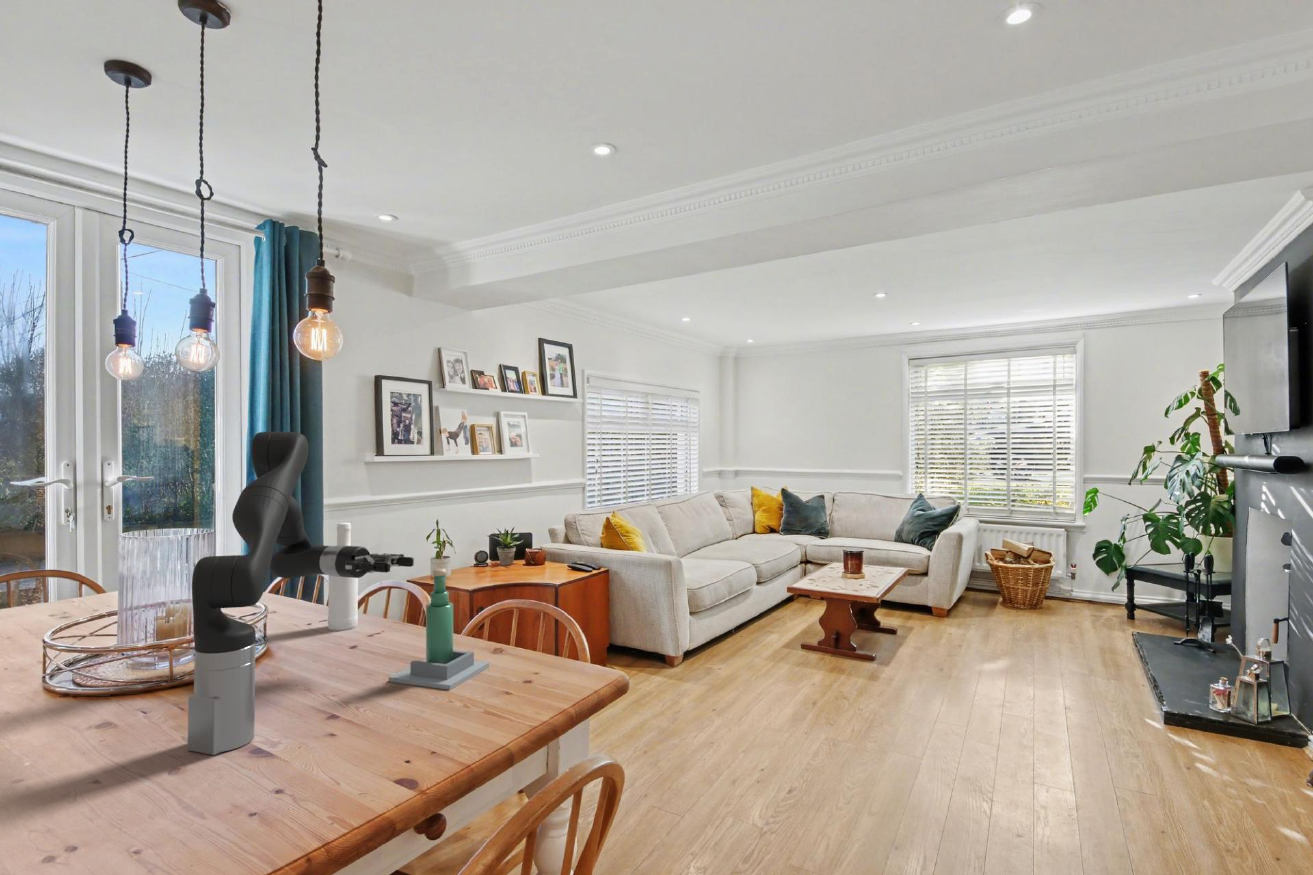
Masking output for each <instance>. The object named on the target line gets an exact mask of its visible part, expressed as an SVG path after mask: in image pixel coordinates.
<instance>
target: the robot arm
mask: <svg viewBox="0 0 1313 875" xmlns="http://www.w3.org/2000/svg"><path fill="white" fill-rule="evenodd" d="M251 441H252V442H251V445H250V457H251V463H252V467H253V471H254V473H255V477H256V478H255V479H254V480H252V481H251V482H250V483H249V484H248V485H246V486H245V487H244V488H243V489H242V491H241V493H240V495H239V497H238V499H237V501H236V504H235V505H234V508H233V511H232V514H231V515H232V517H231V518H232V523H233V527H234V528H235V530H236V532H237V533H238V534H239V536H240V537H241V539H242V540H243V541H244V542H245V544H246V545H247V547H248V549H249V552H248V553H245V554H241V555H240V554H237V555H236V554H235V555H213V556H212V555H210V556H205V557H202V558H200V559H199V560H198V561H197V562H196V564H195V566H194V568H193V571H192V578H191V600H192V614H193V616H192V618H193V619H192V620H193V622H192V624H193V629H192V630H193V640H194V661H193V662H194V666H193V668H194V669H193V670H194V671H193V673H194V676H193V693H192V694H190V695H189V696H188V698H187V700H188V703H187V704H188V706H187V708H188V710H187V751H191V752H196V753H202V754H207V755H212V756H215V755H217V754H219V753H223V752H228V751H231V750H235V749H238V748H241V747H243V746H246V745H247V744H249V743H251V741H253V740H254V738H255V718H256V717H255V715H256V714H255V711H256V710H255V707H256V706H255V704H256V703H255V702H256V701H255V699H256V639H257V638H256V635H257V634H256V628H255V627H254V626H253V625H252V624H250V623H247V622H242V621H241V620H237V619H235V618H232V617H230V616H228V615H227V614H225V613H224V612H223V611H222V609H232V608H233V609H234V608H247V607H251V606H255V605H256V604H258V602H259V601H260V600H261V598H262V596H263V595H264V592H265V589H266V584H267V581H268V578H269V577H268V576H269V573H270V572H271V573H272V574H273V575H274V576H276V577H278V578H280V579H296V578H303V577H306V576H307V577H308V576H311V575H323V576H324V575H325V576H329V575H331V576H336V577H350V578H358V579H359V578H362V577H364V576H365V575H366V574H372V573H373V574H374V573H390V572H391V568H392V567H398V568H399V567H407V568H409V567H413V566H414V565H415V562H414V560H415V559H414V557H412V556H405V555H404V554H402V553H401V554H395V553H381V554H380V553H370V551H369V549H367V548H366V547H365V546H360V545H359V546H357V545H351V546H337V545H313V544H312V542H311V541H310V539H309V537H308V535H307V534H308V533H306V531H305V526H304V517H303V513H302V512H303V511H302V509H301V506H300V504H299V503H298V501H297V500H296V498H294V497H293V492H294V490H295V487H296V485H297V483H298V480H299V479H300V477H301V475H302V473H303V470H304V468H305V467H306V464H307V460H308V458H309V457H308V456H309V450H310V449H309V443H308V439H307V437H306V436H305V435H304V434H302V433H299V432H294V431H261V432H258V433H256V434H255V435H254V436H253V438H252V440H251ZM276 544H277V545H279V546H282V547H281V548H280V549H278V550H276V552H274V549H275V548H276V547H275V546H276Z"/></svg>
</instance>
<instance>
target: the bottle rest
mask: <svg viewBox="0 0 1313 875" xmlns="http://www.w3.org/2000/svg"><path fill="white" fill-rule="evenodd" d="M489 667H490V662H485V661H478V660H475V652H474V651H466V650H457V649H453V661H451V662H449V663H447V664H440V663H432V662H426V658H425V659H423V660H411V661H410V666H408V667H407V668H405V669H402V670H400V671H399V672H396V673H394V674H391V675H390V676H388V683H397V684H403V685H411V686H420V687H425V688H435V689H441V690H449V691H450V690H451V691H452V689H454V688H456V687H457V686H460V685H461V684H462V683H464V682H466V681H468V680H469V679H471V678H473V677H474V676H476V675H479V674H480V673H481V672H483V671H485V670H486V669H487V668H489Z"/></svg>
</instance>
